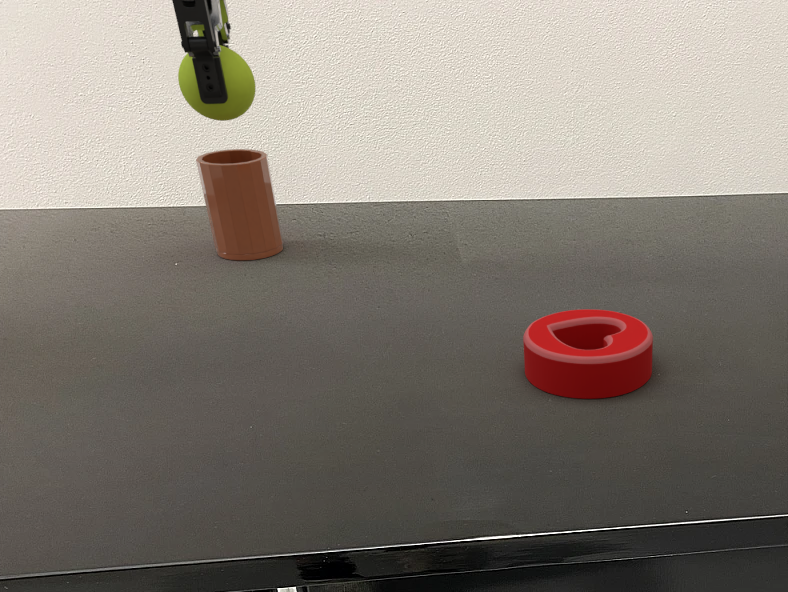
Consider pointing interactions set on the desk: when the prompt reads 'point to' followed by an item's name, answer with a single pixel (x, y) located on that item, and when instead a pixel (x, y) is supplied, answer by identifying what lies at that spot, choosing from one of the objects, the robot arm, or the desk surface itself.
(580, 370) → the decorative ornament
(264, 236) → the cup
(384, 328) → the desk surface
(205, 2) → the robot arm
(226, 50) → the ball
